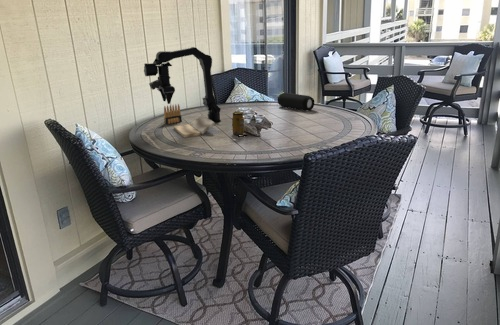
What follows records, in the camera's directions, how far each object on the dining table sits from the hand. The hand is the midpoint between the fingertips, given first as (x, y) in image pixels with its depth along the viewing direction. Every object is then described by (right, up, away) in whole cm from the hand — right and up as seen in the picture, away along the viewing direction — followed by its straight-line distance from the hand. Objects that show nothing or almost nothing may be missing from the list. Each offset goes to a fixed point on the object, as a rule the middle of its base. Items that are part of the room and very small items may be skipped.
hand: (166, 102), depth 231 cm
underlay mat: (+17, -18, -8) cm, 26 cm away
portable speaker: (+79, +2, +44) cm, 90 cm away
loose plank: (+21, -14, -7) cm, 26 cm away
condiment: (+42, -20, -14) cm, 48 cm away
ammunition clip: (+2, -12, +12) cm, 17 cm away
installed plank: (+13, -18, -10) cm, 24 cm away
